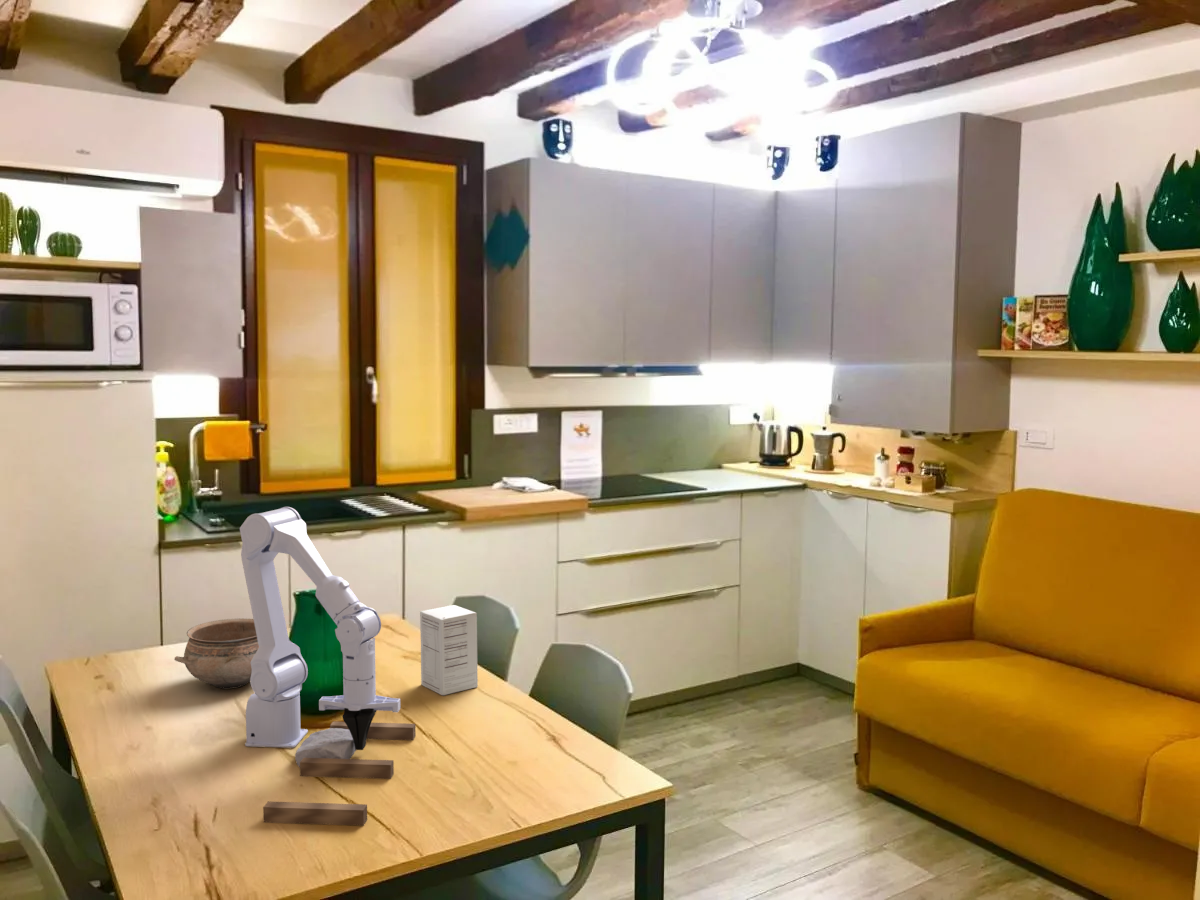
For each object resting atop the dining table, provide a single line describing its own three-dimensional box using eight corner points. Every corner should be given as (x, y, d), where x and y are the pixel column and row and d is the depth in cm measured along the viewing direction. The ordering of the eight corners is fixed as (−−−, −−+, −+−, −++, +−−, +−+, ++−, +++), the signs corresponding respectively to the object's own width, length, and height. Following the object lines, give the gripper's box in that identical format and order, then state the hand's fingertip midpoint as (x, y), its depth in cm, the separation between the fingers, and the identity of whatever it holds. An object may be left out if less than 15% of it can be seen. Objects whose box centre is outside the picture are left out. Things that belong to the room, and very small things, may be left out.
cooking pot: (258, 661, 240) (257, 610, 238) (305, 678, 228) (304, 625, 226) (155, 688, 221) (152, 633, 219) (200, 709, 209) (198, 651, 207)
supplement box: (478, 687, 223) (478, 612, 221) (442, 696, 217) (442, 619, 215) (455, 676, 231) (455, 603, 229) (419, 684, 225) (419, 610, 223)
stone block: (293, 779, 181) (347, 770, 180) (287, 753, 180) (342, 744, 180) (313, 754, 193) (365, 745, 192) (308, 730, 192) (360, 721, 192)
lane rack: (263, 822, 161) (263, 807, 160) (333, 733, 196) (333, 721, 196) (363, 825, 160) (363, 810, 160) (415, 736, 196) (415, 723, 195)
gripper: (312, 682, 181) (314, 755, 183) (393, 684, 181) (394, 757, 182) (325, 669, 188) (326, 740, 190) (402, 671, 188) (403, 742, 189)
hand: (360, 747), depth 186 cm, fingers closed
